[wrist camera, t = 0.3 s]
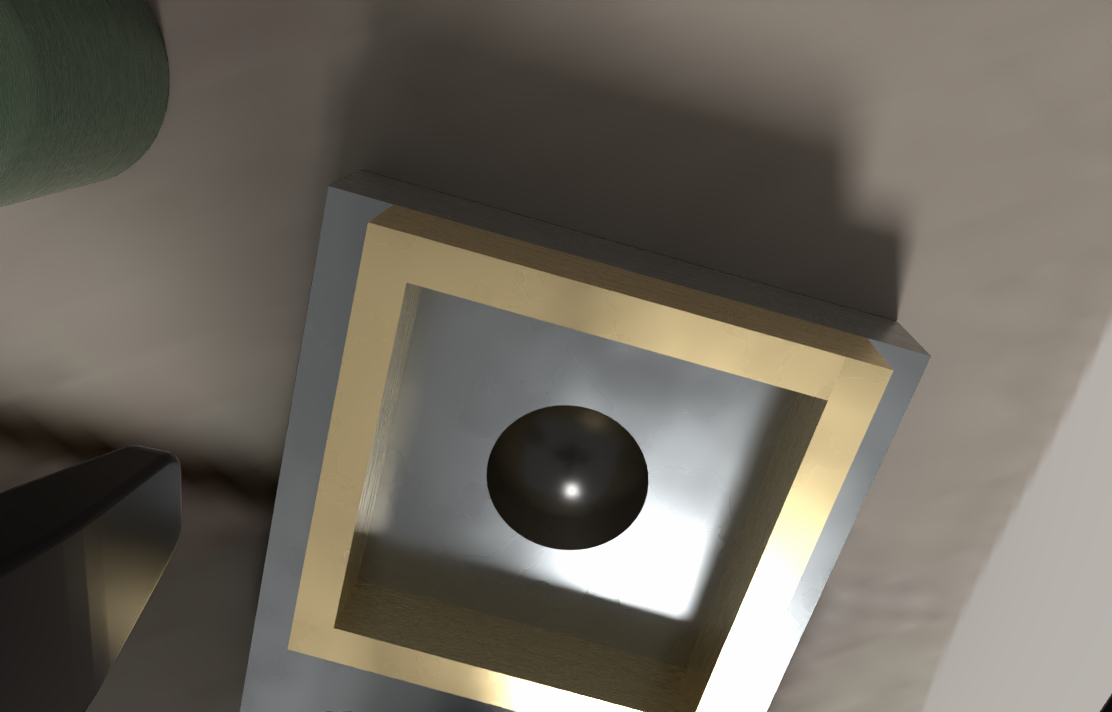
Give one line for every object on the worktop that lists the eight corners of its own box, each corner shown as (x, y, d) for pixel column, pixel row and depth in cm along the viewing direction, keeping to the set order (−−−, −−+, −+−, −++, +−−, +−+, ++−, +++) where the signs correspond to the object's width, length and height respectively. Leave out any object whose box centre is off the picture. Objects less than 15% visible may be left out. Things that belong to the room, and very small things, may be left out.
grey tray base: (696, 778, 27) (709, 914, 23) (271, 664, 27) (205, 780, 22) (897, 321, 21) (964, 390, 17) (361, 170, 21) (295, 202, 17)
